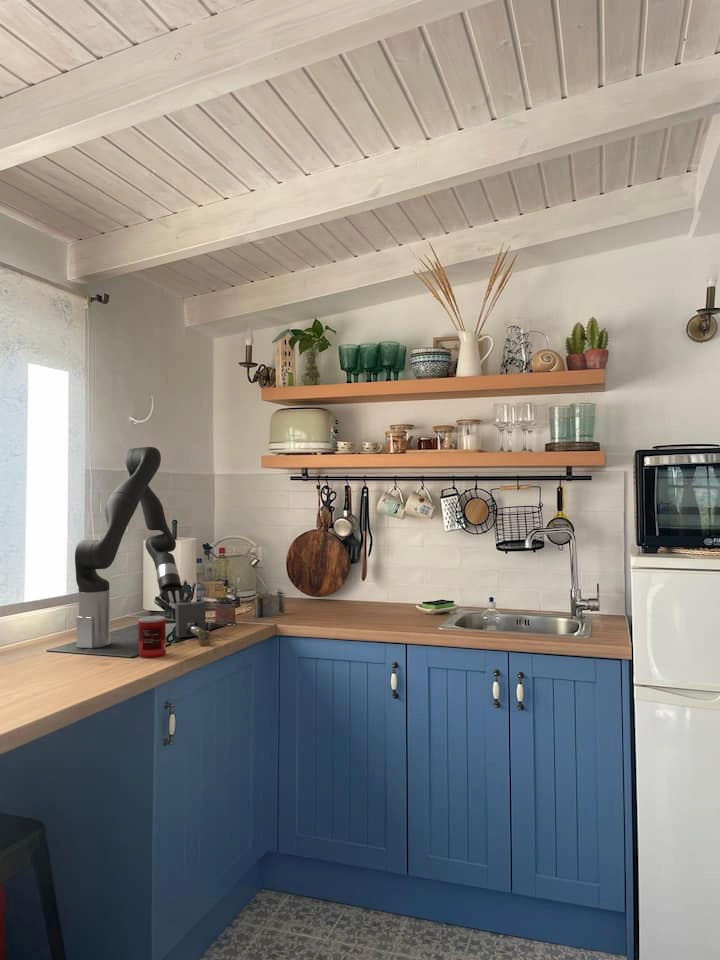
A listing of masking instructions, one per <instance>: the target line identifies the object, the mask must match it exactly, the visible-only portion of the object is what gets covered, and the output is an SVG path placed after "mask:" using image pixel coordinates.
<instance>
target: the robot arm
mask: <svg viewBox="0 0 720 960" xmlns="http://www.w3.org/2000/svg"><path fill="white" fill-rule="evenodd" d="M124 459H125V466H126V469H127V472H128V474H129V477H128V478H126V479H125V480H124V481H123V482H121V484H119V485H118V486H117V487H116V488H115V489H114V490H113V491H112V493H111V495H109V498H108V500H107V503H106V504H105V508H104V516H105V519H106V523H107V527H106V528H107V529H106V531H105V533H104V535H103V537H102V538H101V539H84V540H81V541H79V542H78V543H77V545H76V548H75V552H74V564H75V565H74V566H75V569H74V570H75V580H76V584H77V587H78V616H76V647H77V648H81V649H82V648H84V649H96V648H101V647H102V648H103V647H107V646H109V645H111V615H110V614H111V613H110V612H111V611H110V607H111V605H110V582H109V580H107V579H105V578H103V577H102V576H100V575H99V574H98V573H97V570H106V569H108V568H109V567H111V566H112V564H113V563H114V561H115V559H116V555H117V553H118V550H119V547H120V545H121V543H122V539H123V536H124V534H125V532H126V530H127V528H128V525H129V523H130V521H131V519H132V518H133V516H134V513H135V512H136V510H137V508H138V505H139V503H140V506H141V509H142V513H143V517H144V521H145V527H146V528H147V530H149V531H160V532H162V534H161V533H160V534H157V535H152V536H149V537H148V538H146V541H145V543H144V545H145V549H146V551H147V553H148V554H149V556H150V557H151V559H152V561H153V564H154V567H155V571H156V582H157V584H158V590H159V594H158V596H155V598H154V602H153V603H154V604H155V605H157V606H158V607H159V608H160V609H162V610H163V611H164V612H165V613H166V612H168V613H169V612H170V614H171V617H172V620H174V622H176V617H175V604H177V603H181V601H182V600H183V601H182V603H188V602H191V599H192V593H188V594H187V593H186V591H185V590H184V589H183V587H182V583H181V582H182V581H181V578H180V574H179V570H178V568H177V564H176V560H175V556H174V555H173V554H172V553H171V552H174V551H175V549H176V548H177V547H176V546H177V542H176V539H175V537H174V535H173V534H172V532H171V530H170V528H169V526H168V524H167V520H166V516H165V511H164V506H163V504H162V502H161V501H160V499H159V498H158V496H157V495H156V494H155V493H154V491H153V489H152V488H150V486H149V485H150V482H151V480H153V478H154V476H155V475H156V474H157V472H158V470H159V469H160V465H161V463H162V462H161V460H162V455H161V452H160V450H159V449H158V448H156V447H153V446H143V447H136V448H135V447H134V448H130V449H128V450H127V451H126V453H125V458H124ZM106 645H107V646H106Z"/></svg>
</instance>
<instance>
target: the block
mask: <svg viewBox="0 0 720 960" xmlns="http://www.w3.org/2000/svg"><path fill="white" fill-rule="evenodd" d="M175 617H176V621H175V636H176V637H177V638H187V637H189V638H191V637H198V636H197V635H195V634H193V633H192V632H187V623H192V624H193V625H195V626H197V627H198V628H200V629H202V630H204V631H207V628H206V626H207V625H206V623H207V621H206V602H205V601H202V600H201V601H189V602H188V603H183V602H180V603H177V604H175Z"/></svg>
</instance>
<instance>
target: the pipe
mask: <svg viewBox="0 0 720 960" xmlns="http://www.w3.org/2000/svg"><path fill="white" fill-rule="evenodd" d="M187 632H192V633H193V634H195V635H197V636H196V637H198V646H199V645H200V646H199V647H206V646H205V645H208V646H210V645H211V631H209V630H206V631H204V630H202V629H200V628H198V627H197V626H195V625H194V623H187ZM225 638H226V637H219V638H214V641H215V640H218V641H220V640H219V639H225ZM181 645H185V642H183V641H182V642H176V643H175V642H174V643H173V642H172V643H170V646H172V647H173V646H181Z"/></svg>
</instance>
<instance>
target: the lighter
mask: <svg viewBox="0 0 720 960" xmlns="http://www.w3.org/2000/svg"><path fill="white" fill-rule="evenodd" d="M215 601H219V602H217V603H214V611H215V613H214V616H215V619H214V620H215V622H214V625H215V624H226V625H225V626H228V625H227V624H231V625H230V626H234V625H233V624H236V625H237V618H236V606H237V603H233V601H234V600H233V597H229V596H216V600H215Z"/></svg>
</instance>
